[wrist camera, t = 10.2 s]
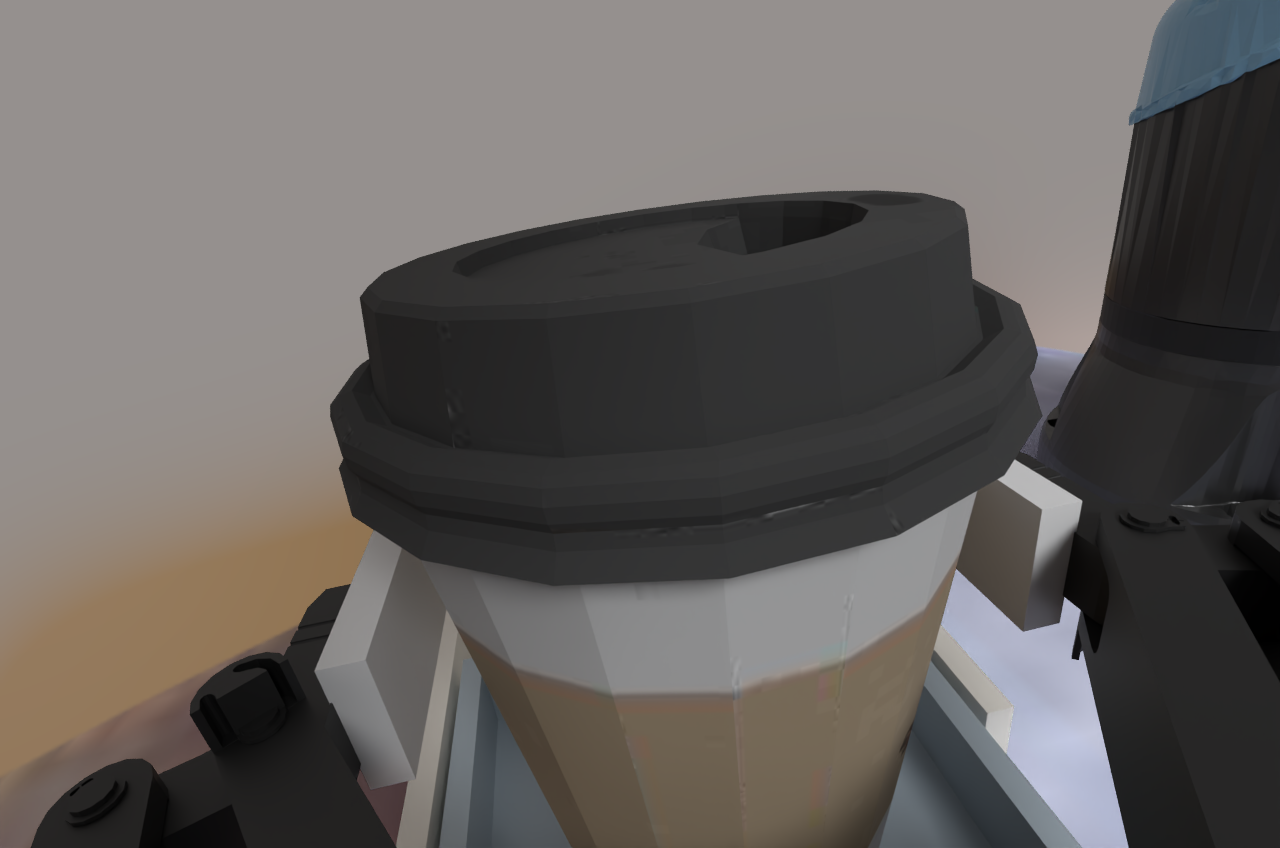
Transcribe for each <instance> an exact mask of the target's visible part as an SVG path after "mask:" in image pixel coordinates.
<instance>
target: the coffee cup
mask: <svg viewBox="0 0 1280 848" xmlns="http://www.w3.org/2000/svg"><path fill="white" fill-rule="evenodd" d="M971 270H972V269H971V257H970V245H969V233H968V224H967V219H966V214H965V210H964V209H963V208H962V207H961V206H960V205H958V204H957V203H956V202H954V201H951V200H947V199H943V198H939V197H935V196H932V195H928V194H923V193H908V192H891V191H833V192H832V191H828V192H807V193H792V194H779V195H778V194H777V195H762V196H753V197H742V198H732V199H722V200H712V201H703V202H695V203H686V204H679V205H671V206H664V207H656V208H649V209H642V210H634V211H628V212H623V213H616V214H610V215H603V216H597V217H591V218H585V219H579V220H573V221H569V222H563V223H559V224H553V225H548V226H543V227H537V228H533V229H527V230H522V231H518V232H513V233H509V234H505V235H501V236H497V237H492V238H488V239H484V240H479V241H475V242H471V243H467V244H463V245H460V246H457V247H454V248H450V249H447V250H443V251H440V252H436V253H433V254H430V255H426V256H423V257H420V258H417V259H415V260H412V261H410V262H408V263H405V264H403V265H400V266H398V267H396V268H393V269H391V270H388V271H386V272H384V273H383V274H381V275H380V276H379V277H378V278H377V279H376V280H375V281H374V282H373V283H372V284H371V285H369V286H368V287H367V289H366V290H365V291H364V293H363V294H362V295H361V297H360V302H361V308H362V314H363V320H364V327H365V334H366V340H367V347H368V353H369V360H367V361H365V362H364V363H362V364H361V365H360V366H359V367H358V368H357V369H356V370H355V371H354V372H353V374H352V375H351V377H350V378H349V380H348V381H347V382H346V384H345V385H344V387H343V388H342V389H341V391H340V392H339V394H338V395H337V396H336V398H335V399H334V401H333V402H332V404H331V405H330V417H331V421H332V424H333V427H334V431H335V434H336V437H337V440H338V444H339V447H340V450H341V453H342V456H343V461H342V463H341V465H340V467H339V470H340V474H341V477H342V481H343V485H344V488H345V491H346V495H347V499H348V502H349V506H350V509H351V513H352V516H353V517H355V518H356V519H358V520H359V521H361V522H362V523H364V524H366V525H367V526H369V527H370V528H372V529H373V530H375V531H376V532H378V533H379V534H381V535H383V536H384V537H386V538H387V539H389V540H390V541H392V542H393V543H395V544H397V545H398V546H400V547H401V548H403V549H404V550H406V551H407V552H409V553H410V554H412V555H414V556H415V557H417V558H418V559H420V560H421V562H422V564H423V566H424V567H425V569H426V571H427V573H428V575H429V577H430V579H431V581H432V583H433V585H434V587H435V588H436V590H437V592H438V594H439V596H440V598H441V600H442V602H443V604H444V606H445V607H446V609H447V611H448V613H449V615H450V617H451V619H452V621H453V623H454V625H455V627H456V628H457V630H458V632H459V634H460V636H461V638H462V640H463V642H464V644H465V646H466V647H467V649H468V651H469V653H470V655H471V657H472V659H473V661H474V663H475V665H476V666H477V668H478V670H479V672H480V674H481V676H482V678H483V680H484V682H485V684H486V686H487V687H488V689H489V691H490V693H491V695H492V697H493V699H494V701H495V703H496V705H497V706H498V708H499V710H500V712H501V714H502V716H503V718H504V720H505V722H506V724H507V726H508V727H509V729H510V731H511V733H512V735H513V737H514V739H515V741H516V743H517V745H518V746H519V748H520V750H521V752H522V754H523V756H524V758H525V760H526V762H527V764H528V766H529V767H530V769H531V771H532V773H533V775H534V777H535V779H536V781H537V783H538V785H539V786H540V788H541V790H542V792H543V794H544V796H545V798H546V800H547V802H548V804H549V806H550V807H551V809H552V811H553V813H554V815H555V817H556V819H557V821H558V823H559V825H560V826H561V828H562V830H563V832H564V834H565V836H566V838H567V840H568V842H569V844H570V845H571V847H572V848H879V846H880V843H881V839H882V835H883V832H884V828H885V824H886V821H887V817H888V814H889V810H890V806H891V803H892V799H893V795H894V792H895V788H896V784H897V781H898V777H899V774H900V770H901V766H902V763H903V759H904V755H905V752H906V748H907V744H908V741H909V737H910V734H911V730H912V726H913V723H914V719H915V715H916V712H917V708H918V704H919V701H920V697H921V694H922V690H923V686H924V683H925V679H926V675H927V672H928V668H929V664H930V661H931V657H932V654H933V650H934V646H935V643H936V639H937V635H938V632H939V628H940V624H941V621H942V617H943V614H944V610H945V606H946V603H947V599H948V595H949V592H950V588H951V584H952V581H953V577H954V574H955V570H956V566H957V563H958V559H959V555H960V552H961V548H962V544H963V541H964V537H965V534H966V530H967V526H968V523H969V519H970V515H971V512H972V508H973V504H974V501H975V497H976V494H977V491H978V490H980V489H981V488H983V487H985V486H987V485H988V484H990V483H992V482H994V481H995V480H997V479H999V478H1001V477H1003V476H1004V475H1005V474H1006V472H1007V471H1008V469H1009V468H1010V466H1011V464H1012V463H1013V461H1014V460H1015V458H1016V457H1017V455H1018V453H1019V452H1020V450H1021V449H1022V447H1023V445H1024V444H1025V442H1026V441H1027V439H1028V437H1029V436H1030V434H1031V433H1032V431H1033V430H1034V428H1035V426H1036V425H1037V423H1038V422H1039V420H1040V418H1041V417H1042V414H1041V411H1040V407H1039V404H1038V401H1037V398H1036V395H1035V392H1034V389H1033V386H1032V382H1031V379H1030V375H1031V373H1032V372H1033V370H1034V367H1035V363H1036V360H1037V356H1038V353H1037V349H1036V345H1035V342H1034V339H1033V336H1032V333H1031V331H1030V328H1029V326H1028V323H1027V321H1026V318H1025V315H1024V313H1023V310H1022V308H1021V305H1020V304H1019V303H1017V302H1015V301H1013V300H1011V299H1010V298H1008V297H1006V296H1004V295H1002V294H1000V293H998V292H997V291H995V290H993V289H991V288H989V287H987V286H985V285H983V284H981V283H980V282H978V281H976V280H974V279H972V271H971Z"/></svg>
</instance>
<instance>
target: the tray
mask: <svg viewBox="0 0 1280 848" xmlns="http://www.w3.org/2000/svg"><path fill="white" fill-rule="evenodd" d="M439 848H572V847H571V845H570V844H569V842H568V840H567V838H566V836H565V834H564V832H563V830H562V828H561V826H560V825H559V823H558V821H557V819H556V817H555V815H554V813H553V811H552V809H551V807H550V806H549V804H548V802H547V800H546V798H545V796H544V794H543V792H542V790H541V788H540V786H539V785H538V783H537V781H536V779H535V777H534V775H533V773H532V771H531V769H530V767H529V766H528V764H527V762H526V760H525V758H524V756H523V754H522V752H521V750H520V748H519V746H518V745H517V743H516V741H515V739H514V737H513V735H512V733H511V731H510V729H509V727H508V726H507V724H506V722H505V720H504V718H503V716H502V714H501V712H500V710H499V708H498V706H497V705H496V703H495V701H494V699H493V697H492V695H491V693H490V691H489V689H488V687H487V686H486V684H485V682H484V680H483V678H482V676H481V674H480V672H479V670H478V668H477V666H476V665H475V663H474V661H473V659H472V658H469V659H465V660H463V665H462V673H461V681H460V689H459V696H458V704H457V712H456V720H455V728H454V735H453V743H452V751H451V759H450V767H449V774H448V782H447V790H446V798H445V806H444V813H443V821H442V829H441V837H440V845H439ZM879 848H1082V847H1081V846H1080V844H1079V843H1078V842H1077V841H1076V840H1075V838H1074V837H1073V836H1072V835H1071V833H1070V832H1069V831H1068V830H1067V828H1066V827H1065V826H1064V825H1063V823H1062V822H1061V821H1060V820H1059V819H1058V817H1057V816H1056V815H1055V814H1054V812H1053V811H1052V810H1051V809H1050V807H1049V806H1048V805H1047V804H1046V802H1045V801H1044V800H1043V799H1042V798H1041V796H1040V795H1039V794H1038V793H1037V791H1036V790H1035V789H1034V788H1033V786H1032V785H1031V784H1030V783H1029V781H1028V780H1027V779H1026V778H1025V777H1024V775H1023V774H1022V773H1021V772H1020V770H1019V769H1018V768H1017V767H1016V765H1015V764H1014V763H1013V762H1012V760H1011V759H1010V758H1009V757H1008V756H1007V754H1006V753H1005V752H1004V751H1003V749H1002V748H1001V747H1000V746H999V744H998V743H997V742H996V741H995V739H994V738H993V737H992V736H991V735H990V733H989V732H988V731H987V730H986V728H985V727H984V726H983V725H982V723H981V722H980V721H979V720H978V718H977V717H976V716H975V715H974V714H973V712H972V711H971V710H970V709H969V707H968V706H967V705H966V704H965V702H964V701H963V700H962V699H961V697H960V696H959V695H958V694H957V693H956V691H955V690H954V689H953V688H952V686H951V685H950V684H949V683H948V681H947V680H946V679H945V678H944V676H943V675H942V674H941V673H940V671H939V670H938V669H937V668H936V667H935V665H934V664H933V663H932V662H931V661H930V664H929V668H928V672H927V675H926V679H925V683H924V686H923V690H922V694H921V697H920V701H919V704H918V708H917V712H916V715H915V719H914V723H913V726H912V730H911V734H910V737H909V741H908V744H907V748H906V752H905V755H904V759H903V763H902V766H901V770H900V774H899V777H898V781H897V784H896V788H895V792H894V795H893V799H892V803H891V806H890V810H889V814H888V817H887V821H886V824H885V828H884V832H883V835H882V839H881V843H880V846H879Z"/></svg>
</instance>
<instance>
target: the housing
mask: <svg viewBox="0 0 1280 848" xmlns="http://www.w3.org/2000/svg"><path fill="white" fill-rule="evenodd" d="M469 658H472V657H471V655H470V653H469V651H468V649H467V647H466V646H465V644H464V642H463V640H462V638H461V636H460V634H459V632H458V630H457V628H456V627H455V625H454V623H453V621H452V619H451V617H450V615H449V613H448V611H447V610H446V615H445V621H444V626H443V632H442V637H441V643H440V648H439V654H438V659H437V665H436V670H435V676H434V681H433V687H432V692H431V698H430V703H429V709H428V714H427V720H426V725H425V731H424V736H423V742H422V747H421V753H420V758H419V764H418V769H417V775H416V779H414V780H410V781H408V785H407V791H406V796H405V801H404V806H403V812H402V817H401V822H400V827H399V832H398V838H397V843H396V847H397V848H439V845H440V837H441V829H442V821H443V813H444V806H445V798H446V790H447V782H448V774H449V767H450V759H451V751H452V743H453V735H454V728H455V720H456V712H457V704H458V696H459V689H460V681H461V673H462V665H463V660H465V659H469ZM931 662H932V663H933V664H934V665H935V667H936V668H937V669H938V670H939V671H940V673H941V674H942V675H943V676H944V678H945V679H946V680H947V681H948V683H949V684H950V685H951V686H952V688H953V689H954V690H955V691H956V693H957V694H958V695H959V696H960V697H961V699H962V700H963V701H964V702H965V704H966V705H967V706H968V707H969V709H970V710H971V711H972V712H973V714H974V715H975V716H976V717H977V718H978V720H979V721H980V722H981V723H982V725H983V726H984V727H985V728H986V730H987V731H988V732H989V733H990V735H991V736H992V737H993V738H994V739H995V741H996V742H997V743H998V744H999V746H1000V747H1001V748H1002V749H1003V751H1004V752H1005V753H1006V754H1007V748H1008V742H1009V735H1010V729H1011V723H1012V717H1013V710H1014V706H1013V705H1012V704H1011V703H1010V701H1009V700H1008V699H1007V698H1006V697H1005V696H1004V695H1003V694H1002V692H1001V691H1000V690H999V689H998V688H997V687H996V686H995V685H994V684H993V682H992V681H991V680H990V679H989V678H988V677H987V676H986V675H985V673H984V672H983V671H982V670H981V669H980V668H979V667H978V666H977V664H976V663H975V662H974V661H973V660H972V659H971V658H970V657H969V656H968V654H967V653H966V652H965V651H964V650H963V649H962V648H961V647H960V645H959V644H958V643H957V642H956V641H955V640H954V639H953V638H952V637H951V635H950V634H949V633H948V632H947V631H946V630H945V629H944V628H943V626H942V625H941V624H940V628H939V632H938V635H937V639H936V643H935V646H934V650H933V654H932V657H931Z"/></svg>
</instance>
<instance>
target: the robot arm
mask: <svg viewBox="0 0 1280 848" xmlns="http://www.w3.org/2000/svg"><path fill="white" fill-rule="evenodd" d="M1132 124H1134V129H1133V135H1132V141H1131V147H1130V152H1129V159H1128V164H1127V170H1126V176H1125V181H1124V187H1123V193H1122V199H1121V205H1120V211H1119V217H1118V222H1117V228H1116V233H1115V239H1114V243H1113V249H1112V254H1111V259H1110V264H1109V270H1108V275H1107V281H1106V286H1105V294H1104V299H1103V305H1102V310H1101V316H1100V319H1099V326H1098V329H1097V333H1096V336H1095V338H1094V340H1093V341H1092V343H1091V345H1090V347H1089V348H1088V350H1087V352H1086V353H1085V355H1084V357H1083V358H1082V360H1081V362H1080V363H1079V365H1078V367H1077V369H1076V370H1075V372H1074V374H1073V376H1072V378H1071V379H1070V381H1069V383H1068V385H1067V387H1066V389H1065V391H1064V393H1063V395H1062V397H1061V400H1060V402H1059V405H1058V406H1057V407H1056V408H1055V409H1054V410H1053V411H1052V412H1051V413H1050V414H1049V415H1048V417H1047V419H1046V421H1045V422H1044V424H1043V427H1042V430H1041V433H1040V438H1039V445H1038V451H1037V458H1036V459H1034V458H1032V457H1030V456H1029V455H1027V454H1024V453H1021V452H1019V453H1018V455H1017V457H1016V458H1015V460H1014V461H1013V463H1012V464H1011V466H1010V468H1009V469H1008V471H1007V472H1006V474H1005V475H1004V476H1003V477H1001V478H999V479H997V480H995V481H994V482H992V483H990V484H988V485H987V486H985V487H983V488H981V489H980V490H978V491H977V494H976V497H975V501H974V504H973V508H972V512H971V515H970V519H969V523H968V526H967V530H966V534H965V537H964V541H963V544H962V548H961V552H960V555H959V559H958V563H957V566H956V569H957V570H958V571H959V572H960V573H961V574H962V575H964V576H965V577H966V578H967V579H968V580H969V581H970V582H971V583H972V584H973V585H974V586H975V587H976V588H977V589H978V590H979V591H980V592H982V593H983V594H984V595H985V596H986V597H987V598H988V599H989V600H990V601H991V602H992V603H993V604H994V605H995V606H996V607H997V608H998V609H1000V610H1001V611H1002V612H1003V613H1004V614H1005V615H1006V616H1007V617H1008V618H1009V619H1010V620H1011V621H1012V622H1013V623H1014V624H1015V625H1016V626H1018V627H1019V628H1020V629H1021V630H1022V631H1023V632H1024V631H1028V630H1032V629H1036V628H1040V627H1044V626H1048V625H1053V624H1057V623H1059V622H1060V617H1061V612H1062V606H1063V601H1064V597H1065V598H1067V599H1068V600H1069V601H1070V602H1072V603H1073V604H1074V605H1075V606H1076V607H1078V608H1079V609H1080V610H1081V612H1080V617H1079V622H1078V626H1077V631H1076V636H1075V641H1074V646H1073V651H1072V659H1076V660H1079V656H1080V652H1081V651H1083V652H1084V657H1085V661H1086V665H1087V670H1088V674H1089V678H1090V683H1091V687H1092V691H1093V695H1094V700H1095V704H1096V708H1097V713H1098V717H1099V721H1100V726H1101V730H1102V734H1103V739H1104V743H1105V747H1106V751H1107V756H1108V760H1109V764H1110V769H1111V773H1112V777H1113V782H1114V786H1115V790H1116V795H1117V799H1118V803H1119V807H1120V812H1121V816H1122V820H1123V825H1124V829H1125V833H1126V838H1127V842H1128V846H1129V848H1280V0H1176V1H1175V2H1174V3H1173V4H1172V5H1171V6H1170V7H1169V8H1168V10H1167V11H1166V13H1165V14H1164V15H1163V17H1162V19H1161V20H1160V22H1159V24H1158V26H1157V28H1156V30H1155V34H1154V36H1153V40H1152V45H1151V49H1150V53H1149V57H1148V61H1147V65H1146V69H1145V73H1144V77H1143V82H1142V86H1141V90H1140V94H1139V98H1138V103H1137V107H1136V109H1135V110H1133V111H1132V112H1131V114H1130V117H1129V125H1132ZM446 610H447V609H446V607H445V606H444V604H443V602H442V600H441V598H440V596H439V594H438V592H437V590H436V588H435V587H434V585H433V583H432V581H431V579H430V577H429V575H428V573H427V571H426V569H425V567H424V566H423V564H422V562H421V560H420V559H418V558H417V557H415V556H414V555H412V554H410V553H409V552H407V551H406V550H404V549H403V548H401V547H400V546H398V545H397V544H395V543H393V542H392V541H390V540H389V539H387V538H386V537H384V536H383V535H381V534H379V533H378V532H376V531H375V530H373V533H372V535H371V538H370V540H369V542H368V545H367V547H366V549H365V552H364V554H363V557H362V559H361V561H360V564H359V566H358V569H357V571H356V573H355V576H354V578H353V580H352V583H351V584H349V585H344V586H339V587H335V588H330V589H326V590H325V591H324V592H323V593H322V594H321V595H320V596H319V597H318V598H317V599H316V600H315V601H314V602H313V603H312V604H311V605H310V606H309V607H308V608H307V610H306V612H305V614H304V616H303V618H302V620H301V622H300V624H299V626H298V629H299V630H298V631H296V632H295V634H294V636H293V638H292V640H291V642H290V643H291V646H289V647H288V648H287V651H286V653H285V655H284V656H283V655H281V654H280V653H270V652H265V653H260V654H256V655H252V656H248V657H246V658H244V659H241V660H239V661H237V662H235V663H232V664H230V665H229V666H227V667H226V668H224V669H223V670H221V671H220V672H218V673H217V674H215V675H214V676H212V677H211V678H210V679H209V680H208V681H207V682H206V683H205V684H204V685H203V686H202V687H201V688H200V689H199V690H198V692H197V694H196V695H195V697H194V698H193V700H192V702H191V705H190V716H191V717H192V719H193V721H194V722H195V724H196V726H197V727H198V729H199V731H200V732H201V734H202V735H203V737H204V739H205V740H206V742H207V744H208V745H209V747H210V749H211V750H210V751H208V752H206V753H204V754H202V755H200V756H198V757H196V758H194V759H191V760H189V761H187V762H185V763H183V764H181V765H178V766H176V767H174V768H172V769H170V770H167V771H165V772H163V773H161V774H159V775H158V774H157V772H156V771H155V769H154V768H153V766H152V765H151V764H150V763H148V762H147V761H145V760H143V759H126V760H123V761H120V762H117V763H114V764H111V765H108V766H106V767H104V768H102V769H100V770H98V771H97V772H95V773H93V774H91V775H89V776H88V777H86V778H84V779H83V780H82V781H80V782H79V783H78V784H76V785H75V786H74V787H72V788H71V789H70V790H69V791H67V792H66V793H65V794H64V795H63V796H62V797H61V798H60V799H59V800H58V801H57V802H56V803H55V804H54V805H53V806H52V807H51V808H50V810H49V811H48V812H47V814H46V815H45V817H44V819H43V820H42V822H41V824H40V826H39V827H38V829H37V832H36V835H35V838H34V840H33V843H32V846H31V848H397V847H396V846H395V844H394V842H393V841H392V839H391V837H390V836H389V834H388V832H387V831H386V829H385V827H384V826H383V824H382V822H381V821H380V819H379V817H378V816H377V814H376V812H375V811H374V809H373V807H372V806H371V804H370V802H369V801H368V799H367V797H366V796H365V794H364V792H363V791H362V789H361V787H360V786H359V784H358V782H357V777H358V774H359V770H360V769H361V771H362V773H363V775H364V777H365V780H366V782H367V784H368V786H369V788H370V790H373V789H377V788H381V787H385V786H389V785H394V784H398V783H402V782H406V781H410V780H414V779H416V775H417V769H418V764H419V758H420V753H421V747H422V742H423V736H424V731H425V725H426V720H427V714H428V709H429V703H430V698H431V692H432V687H433V681H434V676H435V670H436V665H437V659H438V654H439V648H440V643H441V637H442V632H443V626H444V621H445V615H446Z"/></svg>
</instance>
